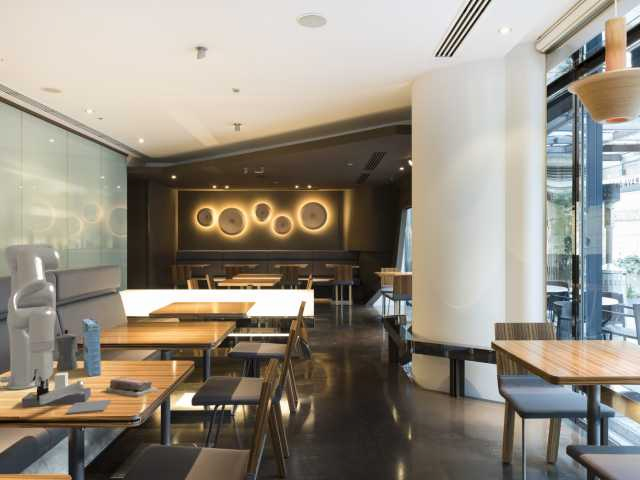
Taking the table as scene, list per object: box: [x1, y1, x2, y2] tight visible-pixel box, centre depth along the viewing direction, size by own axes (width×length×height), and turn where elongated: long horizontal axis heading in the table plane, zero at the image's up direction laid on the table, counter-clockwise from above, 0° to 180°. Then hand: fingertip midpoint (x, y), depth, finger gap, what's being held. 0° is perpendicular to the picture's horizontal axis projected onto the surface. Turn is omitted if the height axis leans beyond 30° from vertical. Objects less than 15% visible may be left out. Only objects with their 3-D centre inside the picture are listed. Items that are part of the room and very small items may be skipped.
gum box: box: [81, 318, 102, 377], centre depth 227 cm, size 20×5×23 cm, turn 32°
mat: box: [65, 399, 112, 415], centre depth 176 cm, size 12×11×1 cm
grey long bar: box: [39, 380, 84, 405], centre depth 175 cm, size 18×2×3 cm, turn 162°
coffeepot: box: [55, 329, 78, 372], centre depth 236 cm, size 15×9×18 cm, turn 54°
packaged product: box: [106, 376, 159, 398], centre depth 196 cm, size 18×5×10 cm
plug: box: [52, 372, 69, 391], centre depth 184 cm, size 6×6×10 cm
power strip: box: [21, 387, 92, 408], centre depth 184 cm, size 21×8×4 cm, turn 101°
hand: (42, 399), depth 171 cm, fingers closed
